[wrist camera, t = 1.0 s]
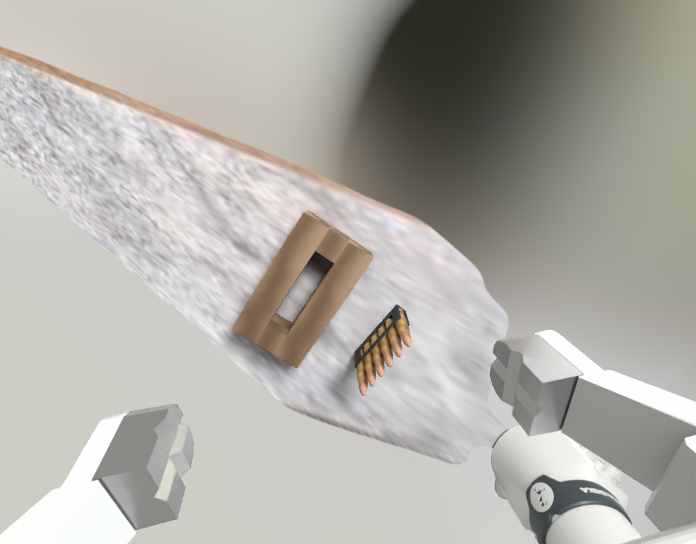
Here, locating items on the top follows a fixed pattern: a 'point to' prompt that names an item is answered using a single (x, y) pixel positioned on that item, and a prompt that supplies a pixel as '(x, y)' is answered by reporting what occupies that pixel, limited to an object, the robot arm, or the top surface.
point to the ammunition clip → (382, 347)
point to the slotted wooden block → (323, 303)
